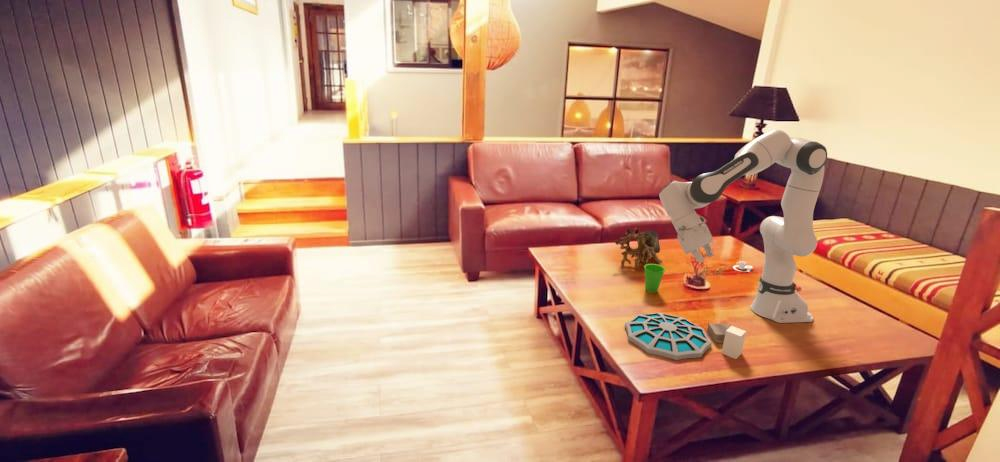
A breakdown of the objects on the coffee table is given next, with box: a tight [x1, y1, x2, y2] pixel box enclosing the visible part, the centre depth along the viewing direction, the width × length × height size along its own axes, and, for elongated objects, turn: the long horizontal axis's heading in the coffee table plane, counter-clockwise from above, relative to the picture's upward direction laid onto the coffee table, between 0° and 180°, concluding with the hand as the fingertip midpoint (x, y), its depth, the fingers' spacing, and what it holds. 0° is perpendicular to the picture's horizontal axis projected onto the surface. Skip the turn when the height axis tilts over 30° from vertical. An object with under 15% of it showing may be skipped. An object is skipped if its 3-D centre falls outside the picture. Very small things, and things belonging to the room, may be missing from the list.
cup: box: [643, 263, 666, 294], centre depth 215 cm, size 9×9×11 cm
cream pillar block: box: [721, 325, 747, 360], centre depth 169 cm, size 5×5×9 cm
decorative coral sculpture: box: [614, 227, 663, 269], centre depth 246 cm, size 24×22×29 cm
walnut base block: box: [706, 322, 732, 344], centre depth 179 cm, size 8×8×4 cm
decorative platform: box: [624, 312, 713, 361], centre depth 179 cm, size 31×29×5 cm
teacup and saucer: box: [732, 260, 754, 273], centre depth 242 cm, size 9×8×4 cm
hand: (706, 259), depth 171 cm, fingers open, 8 cm apart
